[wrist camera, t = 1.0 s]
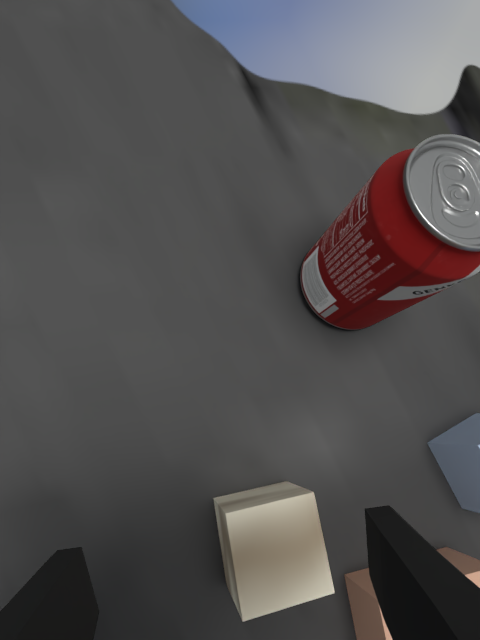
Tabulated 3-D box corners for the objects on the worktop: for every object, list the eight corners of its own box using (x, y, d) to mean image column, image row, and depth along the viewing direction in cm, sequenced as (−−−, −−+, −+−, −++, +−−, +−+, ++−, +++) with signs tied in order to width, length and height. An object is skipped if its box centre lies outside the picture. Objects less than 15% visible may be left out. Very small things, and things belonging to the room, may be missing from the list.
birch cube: (302, 562, 23) (334, 593, 19) (226, 584, 22) (242, 621, 18) (286, 480, 24) (313, 492, 20) (213, 497, 23) (225, 513, 19)
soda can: (299, 331, 27) (404, 258, 15) (293, 239, 28) (383, 112, 17) (391, 333, 28) (550, 267, 17) (380, 245, 30) (517, 131, 18)
